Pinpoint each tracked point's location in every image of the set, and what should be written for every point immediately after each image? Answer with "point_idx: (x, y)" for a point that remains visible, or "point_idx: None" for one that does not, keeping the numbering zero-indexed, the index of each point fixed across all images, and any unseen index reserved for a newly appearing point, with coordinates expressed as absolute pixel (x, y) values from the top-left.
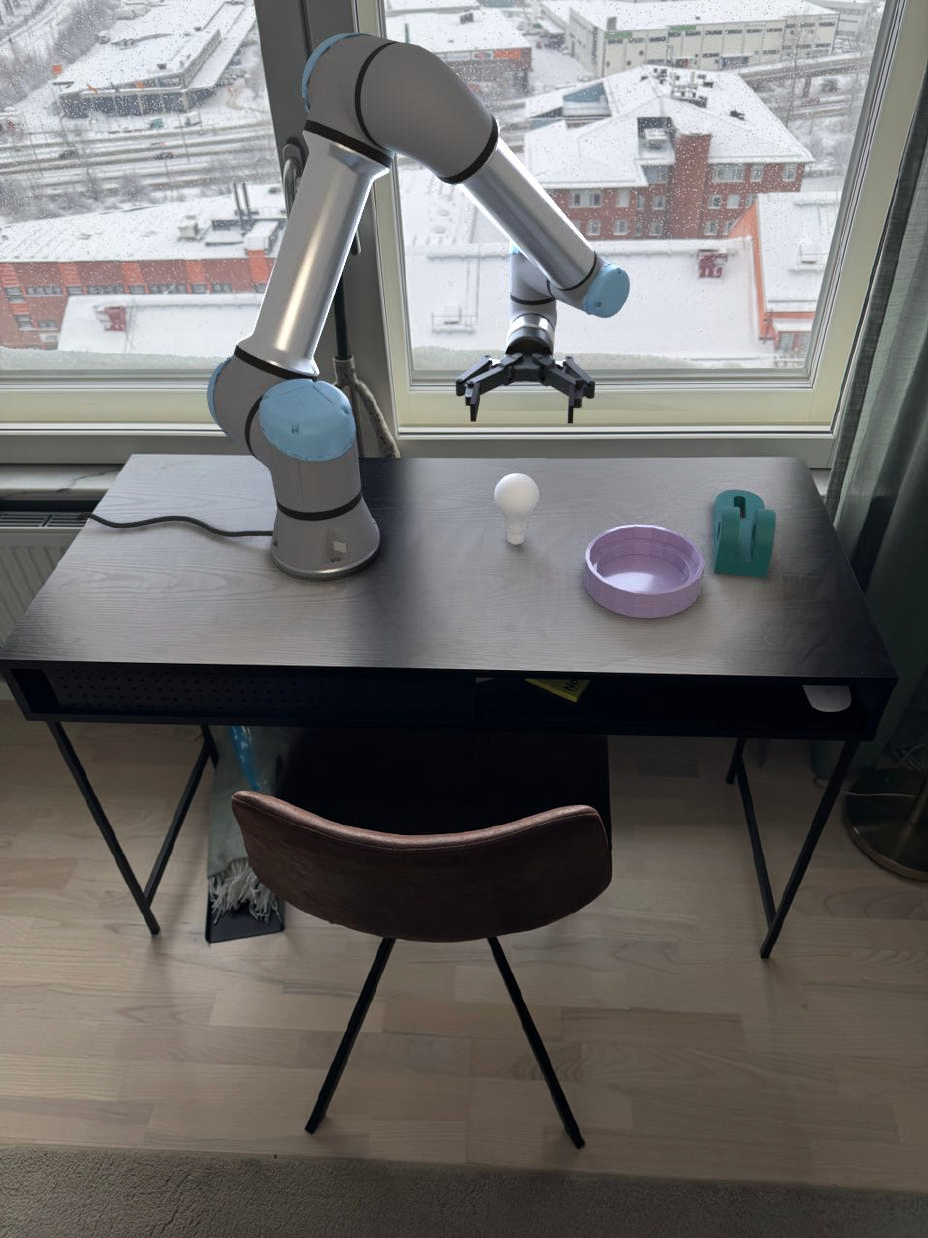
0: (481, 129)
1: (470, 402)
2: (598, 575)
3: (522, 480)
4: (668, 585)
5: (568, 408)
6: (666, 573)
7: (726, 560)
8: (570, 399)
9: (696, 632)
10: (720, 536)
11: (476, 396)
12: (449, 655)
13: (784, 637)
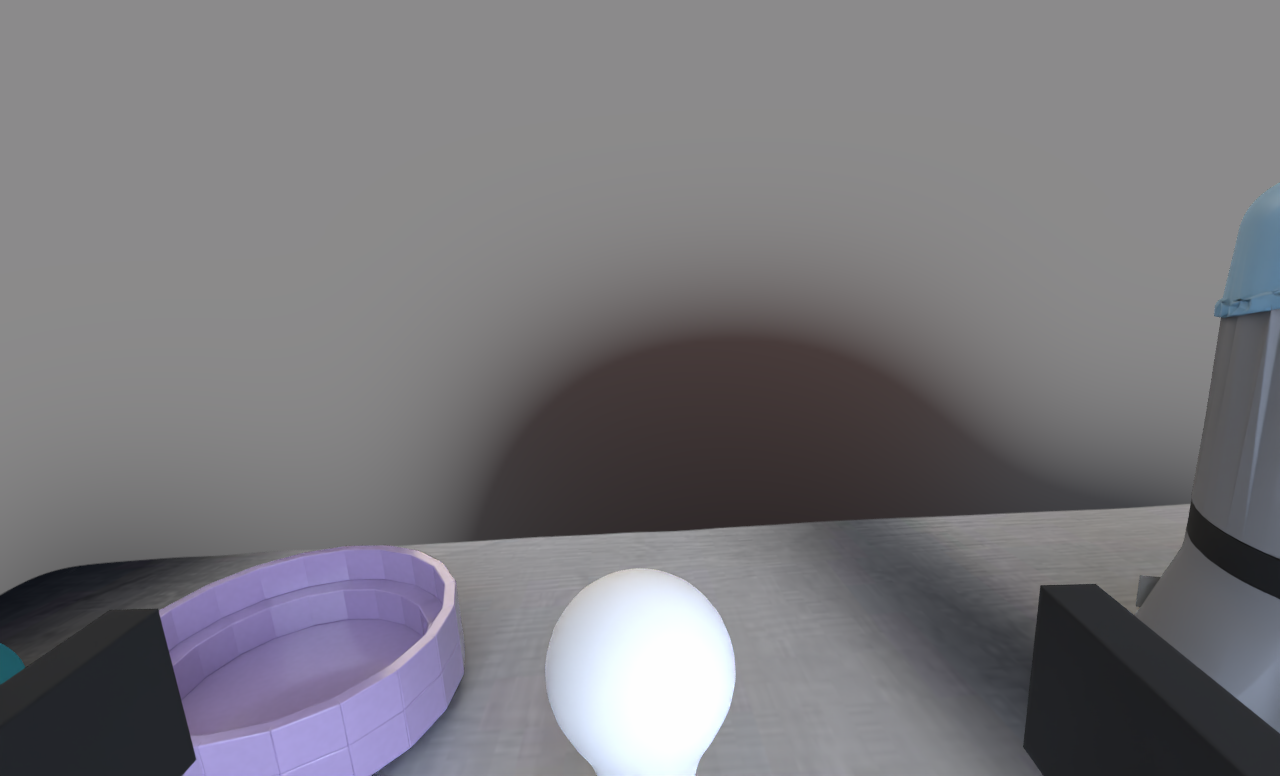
0: None
1: (1116, 604)
2: (442, 571)
3: (611, 577)
4: (244, 685)
5: (160, 634)
6: (211, 723)
7: None
8: (19, 697)
9: None
10: (12, 651)
11: (1169, 702)
12: (750, 537)
13: (127, 605)
